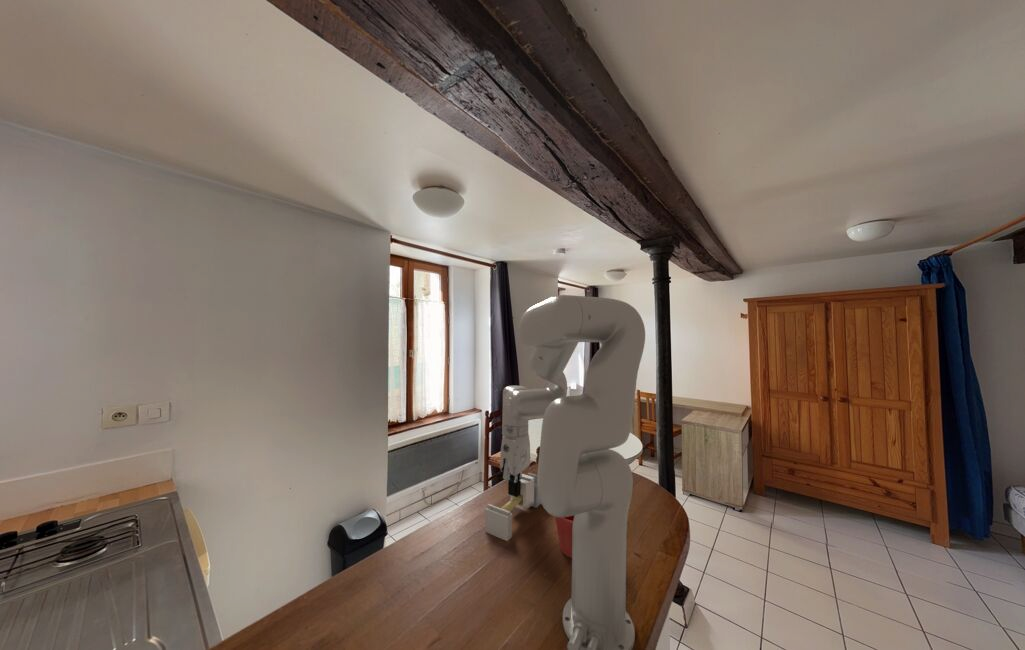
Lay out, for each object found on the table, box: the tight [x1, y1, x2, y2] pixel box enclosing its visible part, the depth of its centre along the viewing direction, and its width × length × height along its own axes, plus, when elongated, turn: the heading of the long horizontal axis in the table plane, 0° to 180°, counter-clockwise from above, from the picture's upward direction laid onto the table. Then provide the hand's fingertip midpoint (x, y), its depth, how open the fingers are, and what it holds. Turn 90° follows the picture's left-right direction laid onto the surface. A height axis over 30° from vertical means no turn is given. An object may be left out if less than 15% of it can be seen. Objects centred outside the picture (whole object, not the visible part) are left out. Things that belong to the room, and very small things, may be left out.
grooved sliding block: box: [509, 473, 534, 512], centre depth 94 cm, size 5×5×8 cm
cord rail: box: [485, 472, 542, 542], centre depth 92 cm, size 21×7×9 cm, turn 148°
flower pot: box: [554, 515, 575, 559], centre depth 79 cm, size 11×11×10 cm
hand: (514, 494), depth 90 cm, fingers closed
